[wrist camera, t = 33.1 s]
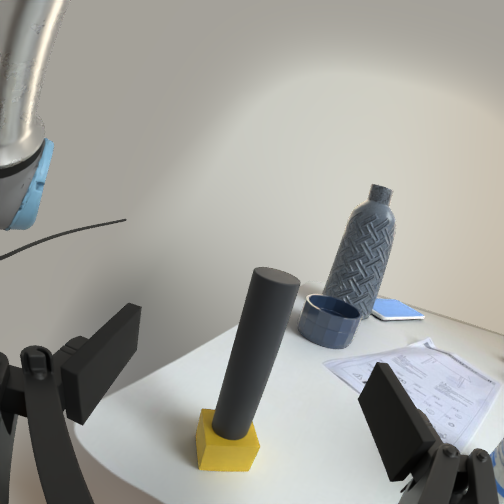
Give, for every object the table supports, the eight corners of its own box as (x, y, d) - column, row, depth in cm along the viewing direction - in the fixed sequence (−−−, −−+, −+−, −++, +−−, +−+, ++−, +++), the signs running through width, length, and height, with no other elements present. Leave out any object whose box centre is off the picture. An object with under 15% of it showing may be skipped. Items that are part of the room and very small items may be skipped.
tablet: (382, 322, 63) (385, 317, 63) (349, 300, 74) (351, 295, 74) (425, 321, 71) (426, 316, 71) (394, 302, 82) (396, 298, 82)
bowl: (288, 318, 53) (297, 290, 52) (335, 323, 56) (344, 297, 55) (309, 348, 44) (321, 316, 43) (360, 350, 47) (373, 321, 46)
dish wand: (195, 435, 22) (238, 258, 19) (240, 437, 23) (297, 270, 20) (198, 470, 18) (251, 281, 15) (248, 471, 19) (321, 293, 16)
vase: (369, 325, 59) (412, 194, 53) (316, 307, 63) (355, 175, 57) (368, 309, 70) (404, 198, 65) (323, 293, 74) (356, 182, 68)
